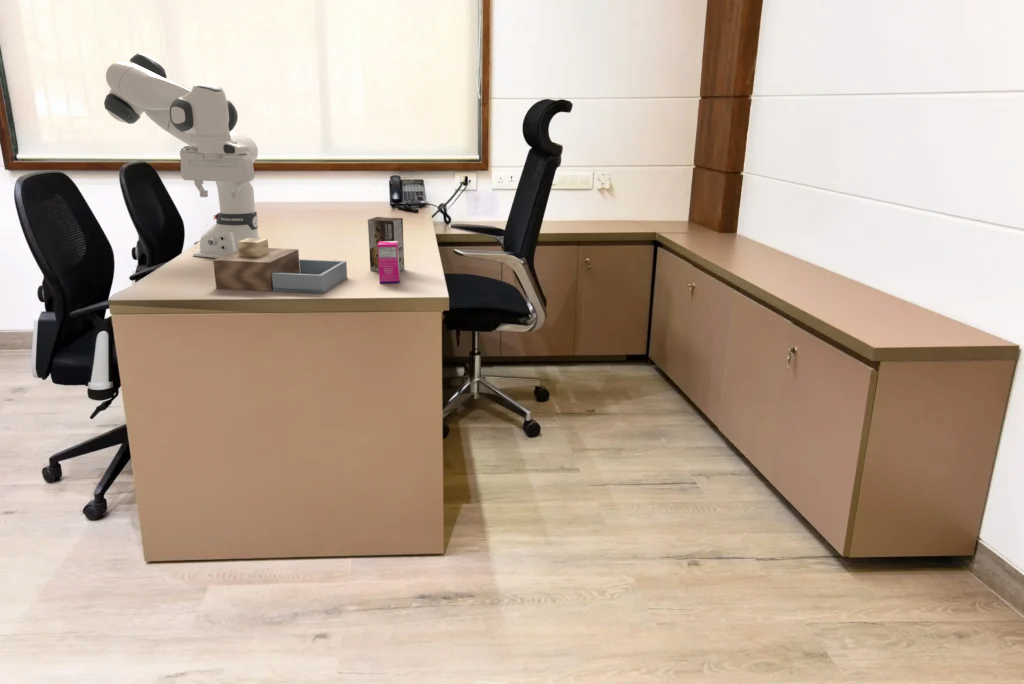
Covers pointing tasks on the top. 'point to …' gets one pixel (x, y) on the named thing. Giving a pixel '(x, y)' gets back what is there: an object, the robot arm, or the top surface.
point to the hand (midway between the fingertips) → (219, 197)
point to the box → (311, 277)
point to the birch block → (253, 247)
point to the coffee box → (385, 238)
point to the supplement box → (388, 262)
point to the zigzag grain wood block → (254, 269)
